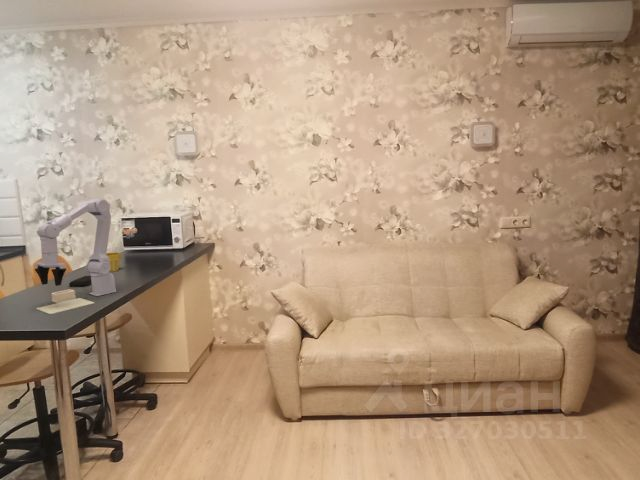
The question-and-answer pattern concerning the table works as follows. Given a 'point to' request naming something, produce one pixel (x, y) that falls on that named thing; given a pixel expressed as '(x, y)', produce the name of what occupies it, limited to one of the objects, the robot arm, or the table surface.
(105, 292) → the robot arm
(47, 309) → the mat
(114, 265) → the plant pot
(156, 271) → the table surface
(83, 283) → the carrying case or bag
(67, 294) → the card deck box
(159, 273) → the table surface
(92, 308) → the table surface
